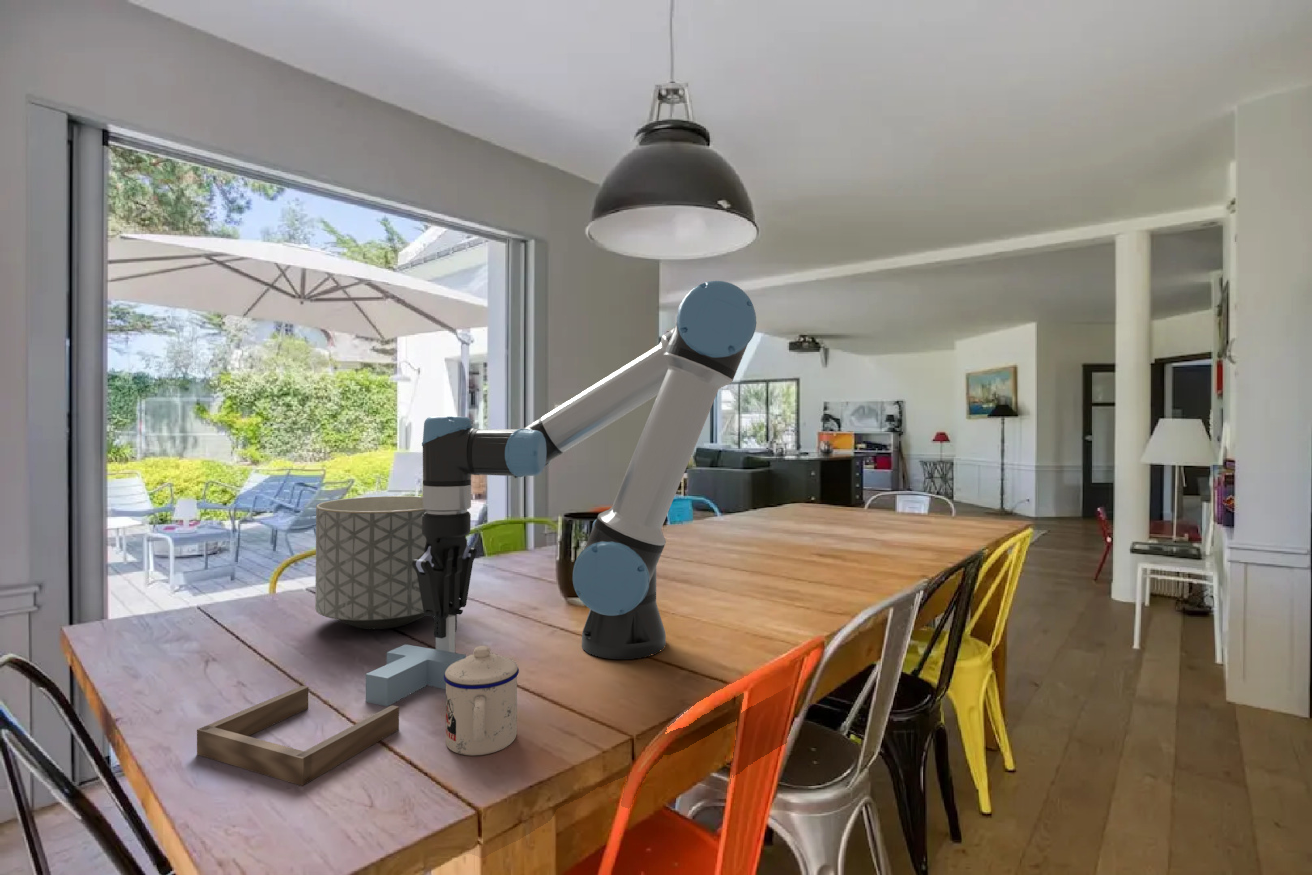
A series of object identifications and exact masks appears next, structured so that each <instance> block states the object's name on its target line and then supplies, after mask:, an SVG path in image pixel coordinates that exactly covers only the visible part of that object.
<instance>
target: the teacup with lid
mask: <svg viewBox="0 0 1312 875" xmlns="http://www.w3.org/2000/svg"><path fill="white" fill-rule="evenodd" d="M519 673H520V670H519V665H518V664H517V662H516V661H515V660H514V659H513V658H510V657H507V656H503V655H498V654H496V653H494V652H491V648H490V647H489V646H487V645H478V646H476V647H475V648H474V649H473V653H472V654H470V655H468V656H466V658H465V659H461V660H459V661H456V662H454V663H453V664H451V665H450V666H449V667H448V668H447V670H446V672H445V675H444V680H445V682H446V689H445V744H446V747H447V748H448V749H449V750H450V751H451V752H454V753H456V754H459V755H462V756H464V755H465V756H483V755H489V754H492V753H493V754H494V753H496V752H499V751H501V750H503V749H505V748H507V747H508V746H510V745H512V743H514V741H515V739H516V737H517V731H518V730H517V727H518V726H517V725H518V720H517V719H518V714H517V713H518V710H517V709H518V704H517V702H518V699H517V698H518V690H517V689H518V675H519Z"/></svg>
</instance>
